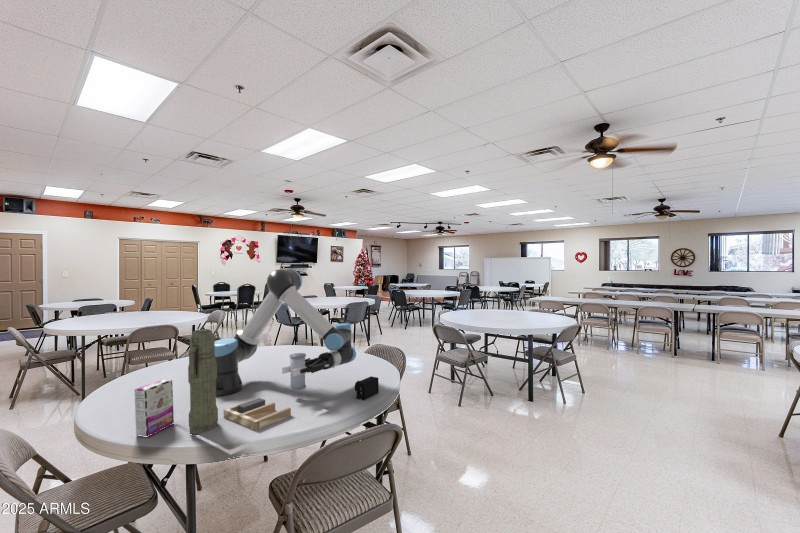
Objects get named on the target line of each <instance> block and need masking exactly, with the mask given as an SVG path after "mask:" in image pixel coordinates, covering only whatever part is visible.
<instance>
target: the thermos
mask: <svg viewBox="0 0 800 533" xmlns="http://www.w3.org/2000/svg"><path fill="white" fill-rule="evenodd" d="M215 341H216V339H215V336H214V332H213V331H212V330H211V329H210V328H209V329H207V328H204V329H196V330H194V331H192V333H191V335H190V338H189V351H188V362H189V363H188V366H187V377H188V378H187V380H188V381H187V382H188V384H189V396H190V397H189V400H190V401H189V404H190V407H189V408H190V410H189V412H188V427H189V432H190V433H189V435H190V434H192V435H200V433H204V432H208V431H210V430H212V429H215V428H216V427H217V426H218V421H219V408H218V406H217V396H216V379H217V362H216V360H215V353H214V351H215ZM192 435H191V436H192Z"/></svg>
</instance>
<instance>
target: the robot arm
mask: <svg viewBox="0 0 800 533" xmlns="http://www.w3.org/2000/svg"><path fill="white" fill-rule="evenodd" d="M266 286H267V288H268V293H267V295H266V296H265V297H264V299H263V301H262V302H261V303H260V304H259V306H258V307H257V309H256V311H255V312H254V313H253V315H252V316H251V318H250V319H249V321H247V323H246V325H245V326H244V328H243V329H240V330H237V332H236V334H235V335H234V337H226V338H222V339H218V340H215V351H214V353H215V360H216V362H217V379H216V397H223V396H228V395H232V394H235V393H238V392H239V391H241V390H242V389H243V382H242V379H241V377H240V374H239V363H241V362H242V361H246V360H248V359H250V358H251V357H253V355H254V354H256V352H257V350H258V345H259V344H260V339H259V338H260V337H261V335H262V334H263V332H264V331H265V330H266V329H267V326H268V325H269V323H270V322H271V321H272V319H273V318H274V316H275V315H276V313H277V312H278V311H279V309H280V308H281V306H282V305H283V304H286V305H287V306H288V307H289V308H290V309H291V310H292V311H293V312H294V313H295V314H296V315H297V316H298V317H299V318H300V319H301V320H302V321H303V322H304V323H305V324H306V325H307V326H308V327H309V328H310V329H312V330H313V331H314V332H315V333H316V334H317V335H318V337H320V338H321V339H322V340H323V341H324V344H325V347H326V349H327V350H329V351H325V352H323V353H320V354H319V355H318V357H314V358H312V359H311V358H310V357H308V358H305V366H303V367H300V368H296V369H293V370H292V376H293V377H294V376H297V375H300V374H304V373H305V374H306V373H307V374H308V373H311V374H314V373H317V372H321V371H322V370H324V371H326V370H329V369H332V368H333V369H334V368H335V367H337V366H341V365H346V364H348V363H351V362H353V361H354V360H355V359H356V358H357V352H356V349H355V347H354V346H352V325H351V324H350V323H348V322H347V323H346V322H345V323H344V322H340V323H336V325H335V326H334V325H333V324H332V323H331V322H330V320H328V319H327V318H326V317H324V316H323V314H322V313H320V311H318V310H317V309H316V307H314V306H313V305H312V304H311V303H310V302H309V301H308V300H307V299H306V298H305V297H304V296H303V295H302V293H300V292H299V290H300V289H301V287H302V286H303V280H302V276H301V274H300V273H299V272H298V271H296V270H294V269H291V268H288V269H282V268H281V269H280V268H279V269H275V270H272V271H271V272H270V273H269V275H268V276H267V279H266ZM281 368H282V369H281V370H282V371H281V373H282V375H284V374H288V373H291V364H289V365H285V366H282V367H281Z"/></svg>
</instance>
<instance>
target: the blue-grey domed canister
mask: <svg viewBox="0 0 800 533" xmlns="http://www.w3.org/2000/svg"><path fill="white" fill-rule="evenodd" d="M306 357H307V354H306V353H305V352H297V353H292V354H291V353H290V354H289V359H290V365H291V372H290V386H289V390H290V391H302V390H305V389H306V388H307V385H306V373H304V374H300V375H297V376H294V377H293V376H292V370H293V369H296V368H300V367H303V366H305V359H306Z"/></svg>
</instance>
